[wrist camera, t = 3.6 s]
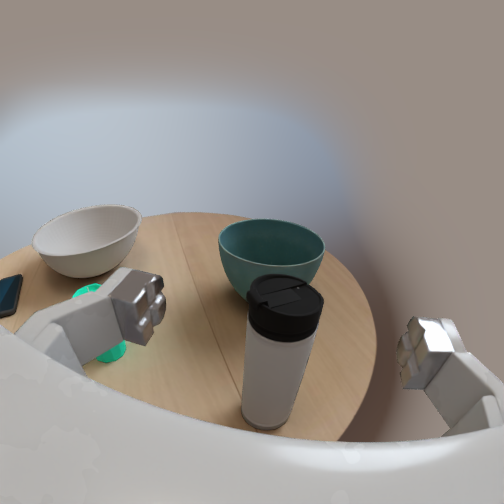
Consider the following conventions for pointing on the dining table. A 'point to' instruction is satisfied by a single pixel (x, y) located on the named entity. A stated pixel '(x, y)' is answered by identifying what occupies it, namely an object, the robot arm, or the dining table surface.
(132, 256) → the dining table surface
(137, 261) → the dining table surface
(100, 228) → the bowl
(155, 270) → the dining table surface
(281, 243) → the deep teal bowl
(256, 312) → the travel mug
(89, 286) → the candle
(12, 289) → the smartphone
